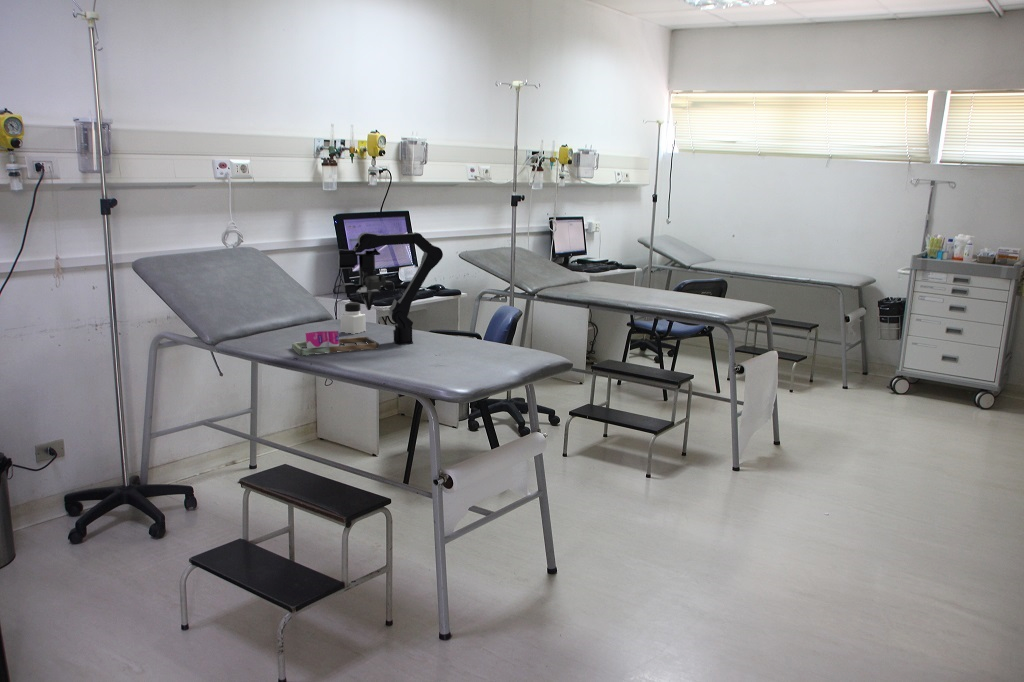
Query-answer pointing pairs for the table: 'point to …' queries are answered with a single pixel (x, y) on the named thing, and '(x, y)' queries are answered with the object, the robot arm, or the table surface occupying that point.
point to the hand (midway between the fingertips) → (368, 309)
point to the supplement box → (322, 339)
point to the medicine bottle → (352, 319)
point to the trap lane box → (346, 341)
